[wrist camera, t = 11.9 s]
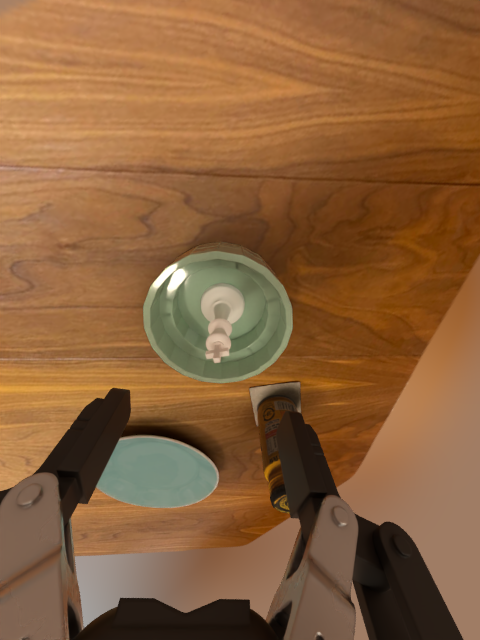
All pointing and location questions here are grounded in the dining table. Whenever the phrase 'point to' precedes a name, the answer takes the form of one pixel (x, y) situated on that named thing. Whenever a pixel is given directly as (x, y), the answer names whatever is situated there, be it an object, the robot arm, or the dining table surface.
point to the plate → (158, 472)
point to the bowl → (192, 327)
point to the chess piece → (221, 317)
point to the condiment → (274, 432)
